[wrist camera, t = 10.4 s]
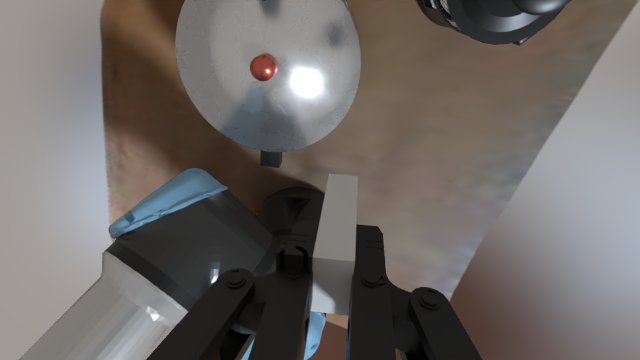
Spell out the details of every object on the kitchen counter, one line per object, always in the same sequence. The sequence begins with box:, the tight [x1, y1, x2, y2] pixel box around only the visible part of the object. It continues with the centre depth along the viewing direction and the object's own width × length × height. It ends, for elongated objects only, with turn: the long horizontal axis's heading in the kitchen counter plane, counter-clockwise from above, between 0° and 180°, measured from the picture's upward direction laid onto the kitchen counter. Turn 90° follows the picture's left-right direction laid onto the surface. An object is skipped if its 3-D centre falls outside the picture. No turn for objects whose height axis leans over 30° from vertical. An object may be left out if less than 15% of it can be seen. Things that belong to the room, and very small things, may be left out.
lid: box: [175, 0, 361, 152], centre depth 33 cm, size 24×19×5 cm
